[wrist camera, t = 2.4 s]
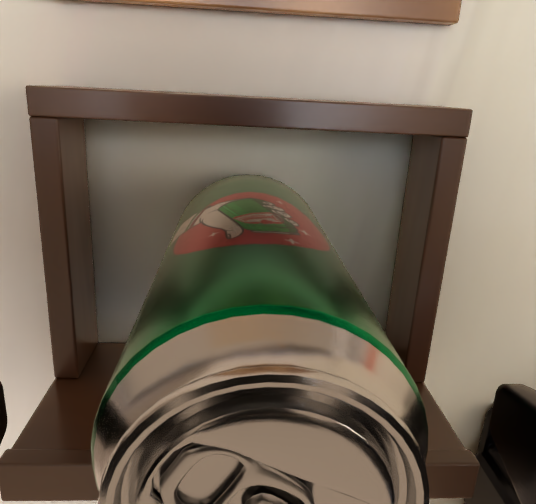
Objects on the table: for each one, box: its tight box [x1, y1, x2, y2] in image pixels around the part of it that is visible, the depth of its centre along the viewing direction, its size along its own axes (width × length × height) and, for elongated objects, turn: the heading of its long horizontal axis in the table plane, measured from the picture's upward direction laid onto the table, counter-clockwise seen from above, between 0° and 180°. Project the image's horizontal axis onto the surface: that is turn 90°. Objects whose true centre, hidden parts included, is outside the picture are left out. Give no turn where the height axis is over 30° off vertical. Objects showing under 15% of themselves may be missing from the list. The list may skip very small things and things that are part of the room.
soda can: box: [91, 175, 429, 504], centre depth 12 cm, size 5×5×12 cm
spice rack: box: [0, 86, 480, 501], centre depth 15 cm, size 13×10×7 cm
